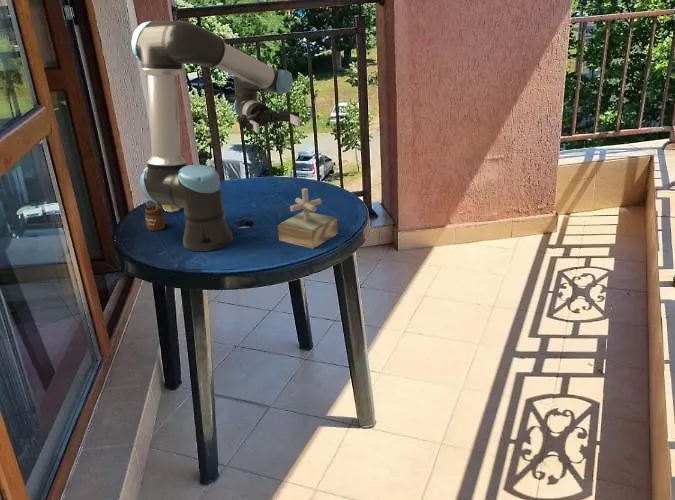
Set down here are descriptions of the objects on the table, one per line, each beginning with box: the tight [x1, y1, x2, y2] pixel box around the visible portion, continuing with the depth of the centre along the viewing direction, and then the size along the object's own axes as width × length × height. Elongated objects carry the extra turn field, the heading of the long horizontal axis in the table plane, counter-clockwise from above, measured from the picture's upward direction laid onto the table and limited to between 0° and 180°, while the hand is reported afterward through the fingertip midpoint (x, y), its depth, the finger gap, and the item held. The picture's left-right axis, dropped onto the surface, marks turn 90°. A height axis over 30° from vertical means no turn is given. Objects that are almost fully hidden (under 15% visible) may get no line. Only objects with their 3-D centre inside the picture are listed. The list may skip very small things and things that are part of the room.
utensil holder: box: [144, 195, 166, 232], centre depth 209 cm, size 6×6×12 cm
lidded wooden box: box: [277, 211, 339, 250], centre depth 197 cm, size 13×13×6 cm
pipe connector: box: [289, 188, 323, 221], centre depth 194 cm, size 10×10×10 cm
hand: (278, 125), depth 198 cm, fingers open, 13 cm apart
